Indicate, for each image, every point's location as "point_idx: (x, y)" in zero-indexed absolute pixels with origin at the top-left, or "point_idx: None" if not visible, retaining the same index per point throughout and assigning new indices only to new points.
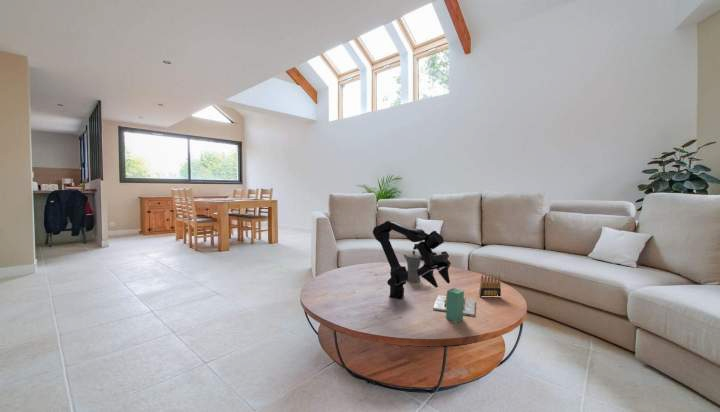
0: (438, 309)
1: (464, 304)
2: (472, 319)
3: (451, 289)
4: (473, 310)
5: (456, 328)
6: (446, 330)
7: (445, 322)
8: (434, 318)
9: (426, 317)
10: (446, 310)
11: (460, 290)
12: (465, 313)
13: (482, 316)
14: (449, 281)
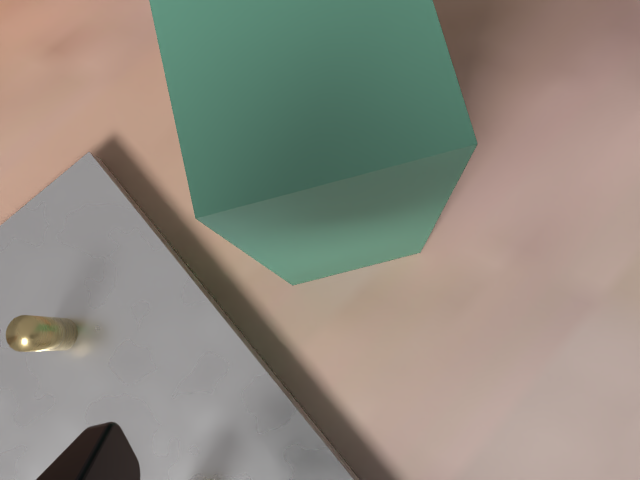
0: (350, 470)
1: (29, 316)
2: (173, 118)
3: (326, 153)
4: (8, 233)
5: (483, 32)
6: (613, 38)
7: (498, 178)
8: (551, 308)
9: (629, 372)
10: (429, 234)
11: (178, 24)
12: (147, 223)
13: (21, 129)
14: (87, 440)
